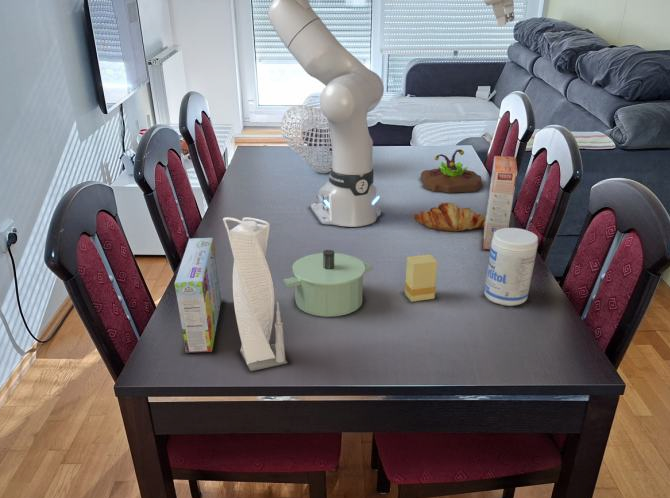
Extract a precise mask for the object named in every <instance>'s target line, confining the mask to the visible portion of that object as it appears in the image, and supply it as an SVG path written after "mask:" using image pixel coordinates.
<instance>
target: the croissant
mask: <svg viewBox="0 0 670 498" xmlns="http://www.w3.org/2000/svg"><path fill="white" fill-rule="evenodd" d="M413 220H414V221H415V222H417V223H419V224H421V225H423V226H425V227H426V228H430V229H435V230H439V231H444V232H446V231H450V232H460V231H465V230H473V229H474V230H475V229H477V228H479V229H482V228H484V227H485V220H486V216H485V215H483V214H482V213H477V212H476V211H473V210H472V209H471V208H470V207H461V208H460V207H459V206H458V205H457V204H455V203H452V202H442V203H440V204H439V205H438V206H437V207H435V206H434V207H431V208H430V209H429V210H428V211H420V212H419V213H414V214H413Z"/></svg>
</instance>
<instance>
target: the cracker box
mask: <svg viewBox="0 0 670 498" xmlns="http://www.w3.org/2000/svg"><path fill="white" fill-rule="evenodd" d="M491 171H492V172H491V178H490V185H489V192H488V199H487V205H486V212H485V213H486V214H485V218H486V220H485V227H483V247H482V249H483V250H487V251H490V249H491V243H492V239H493V236H494V232H495V231H497V230H499V229H503V228H510V227H509V226H510V222H511V221H510V220H511V214H512V209H513V208H512V207H513V201H514V196H515V189H516V183H517V177H518V165H517V157H515V156H505V155H494V156H493V163H492V170H491Z"/></svg>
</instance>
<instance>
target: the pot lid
mask: <svg viewBox="0 0 670 498" xmlns="http://www.w3.org/2000/svg"><path fill="white" fill-rule="evenodd" d="M364 263H365V262H363V261H362V260H361V259H359V258H357V257H355V256H353V255H349V254H345V253H340V252H335V250H333V249H325V250H323V251H322V252H318V253H313V254H309V255H305V256H303V257H301V258H299V259H297V260H296V261H294V263H293V264H292V267H291V271H292V274H293V275H295V276H296V277H297V278H298V279H300V280H302V281H305V282H308V283H311V284H317V285H341V284H346V283H350V282H353V281H355V280H357V279H359V278H361V277H362V276H363V277H364V275H365V273H366V271H365V265H364Z"/></svg>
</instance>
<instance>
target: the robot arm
mask: <svg viewBox="0 0 670 498" xmlns="http://www.w3.org/2000/svg"><path fill="white" fill-rule="evenodd" d="M483 1H484V3H485V6H488V7H489V6H492V11H493V13H494V16H495V18H496V23H497V26H499V27H501V26H505V25H506V24H507V23H512V22H514V21H515V20H516V19H515V12H514V11H515V9H514V8H515V4H514V0H483ZM267 17H268V20H269V23H270V25H271V26H272V28H273V30H274V31H275V33H276V35H277V36H278V38H279V40H280V41H281V42H282V44H283V45H284V47H285V48H286V50H288V51H289V53H290V54H291V55H292V56H293V58H294V59H295V60H296V61H297V63H298V64H299V65H300V66H301V68H302V69H303V71H305V73H306V74H308V75H309V76H310V77H312V78H314V79H316V80H317V81H319V82H320V83H322V84H323V85H324V86H325V87H324V88H323V89H322V91H321V93H320V96H319V107H320V110H322V112H323V114H324V115H325V116H324V118H327V121H328V127H329V132H330V134H331V139H330V141H331V140H332V145H331V147H332V148H330V149H329V151H332V152H330V153H331V155H332V159H331V160H332V164H331V165H332V168H329V169H331V171H329V172H328V173H329V175H328V176H329V177H328V181H327V182H326V183H324V184H323V185H322V187H320V188H319V190H318V194H316V201H315V202H313V203H311V204H310V209H311V211H312V212H313V213H314V215H315V216H316V218H317V219H318V220H319V222H320V223H321V224H322V225H331V226H339V227H344V228H357V227H365V226H368V225H372V224H374V223H375V222H376V221H377V218H378V217H379V216H381V215H382V211H381V210H380V209H378V200H379V199H380V195H378V194H377V192H378V191H377V187H376V186H375V185H374V179H375V174H374V168H373V158H374V157H373V155H374V153H373V152H374V141H373V138H372V137H371V134H370V132H369V126H368V113H370V112H372V111H373V110H374V109H376V108H377V106H378V105H379V104H380V102H381V101H382V98H383V96H384V92H385V89H384V83H383V82H384V81H383V79H382V78H381V76H379V75H378V73H376V72H375V71H373V70H371V69H370V68H368V67H367V66H366V65H364V64H363V63H362V61H360V60H359V59H358V58H357V57H356V56H354V55H353V54H352V53H351V52H350V51H349V50H347V49H346V48H345V47H344V46H343V44H341V43H340V42H339V40H338V39H337V38H336V37H335V35H334V34H333V33H332V32H331V30H330V29H329V28H328V27H327V25H326V24H325V23H324V22H323V20H322V19H321V17H319V15H318V14H317V13H316V12H315V10H314V9H313V8H312V6H311V4H310V0H272V1H271V3H270V4H269V6H268V10H267ZM330 134H329V135H330ZM325 146H327V144H325ZM328 147H329V144H328Z"/></svg>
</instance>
